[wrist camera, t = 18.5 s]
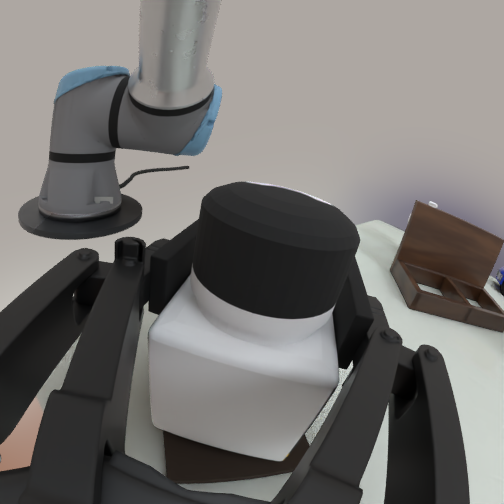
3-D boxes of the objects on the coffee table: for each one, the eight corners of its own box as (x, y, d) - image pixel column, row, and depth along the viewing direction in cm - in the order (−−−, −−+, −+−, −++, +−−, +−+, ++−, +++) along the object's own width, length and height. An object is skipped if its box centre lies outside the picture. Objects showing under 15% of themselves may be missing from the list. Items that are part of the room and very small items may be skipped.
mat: (160, 350, 19) (160, 345, 19) (267, 352, 21) (269, 347, 21) (168, 483, 10) (168, 480, 10) (313, 467, 13) (317, 463, 12)
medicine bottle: (284, 464, 12) (408, 258, 7) (150, 427, 12) (151, 190, 7) (293, 373, 18) (360, 201, 13) (191, 345, 19) (220, 164, 14)
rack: (502, 332, 30) (537, 265, 26) (408, 308, 32) (447, 220, 27) (475, 296, 41) (501, 238, 36) (389, 269, 43) (415, 199, 38)
